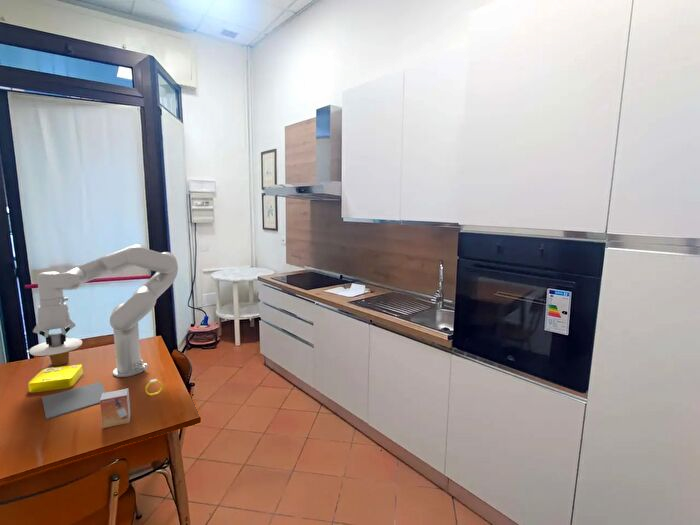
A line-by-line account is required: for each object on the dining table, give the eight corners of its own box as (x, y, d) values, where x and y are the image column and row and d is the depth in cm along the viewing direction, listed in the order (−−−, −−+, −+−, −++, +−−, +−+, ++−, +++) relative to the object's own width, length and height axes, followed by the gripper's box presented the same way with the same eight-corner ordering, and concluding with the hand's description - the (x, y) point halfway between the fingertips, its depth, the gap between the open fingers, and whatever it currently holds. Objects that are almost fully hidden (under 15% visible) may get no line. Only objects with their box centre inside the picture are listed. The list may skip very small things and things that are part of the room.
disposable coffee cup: (69, 356, 176) (66, 333, 174) (75, 361, 171) (73, 338, 169) (44, 363, 168) (41, 339, 167) (51, 368, 163) (48, 344, 161)
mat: (110, 400, 137) (109, 398, 137) (46, 419, 124) (45, 418, 124) (100, 382, 151) (100, 381, 151) (42, 398, 138) (41, 397, 138)
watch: (147, 398, 140) (144, 384, 138) (146, 395, 142) (143, 381, 141) (163, 392, 143) (161, 379, 142) (162, 390, 145) (160, 376, 144)
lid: (85, 347, 148) (84, 334, 147) (31, 359, 136) (29, 345, 135) (78, 337, 159) (77, 324, 159) (27, 347, 147) (26, 333, 146)
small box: (101, 429, 119) (98, 400, 118) (104, 420, 124) (101, 392, 123) (129, 423, 123) (127, 394, 121) (130, 414, 128) (128, 387, 126)
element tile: (27, 394, 142) (25, 383, 141) (43, 377, 155) (42, 367, 155) (72, 388, 147) (71, 377, 146) (84, 372, 161) (83, 362, 160)
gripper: (77, 297, 153) (81, 337, 155) (25, 302, 143) (30, 346, 145) (77, 300, 147) (81, 343, 150) (23, 306, 137) (29, 351, 139)
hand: (56, 344), depth 147 cm, fingers closed on lid, 3 cm apart
